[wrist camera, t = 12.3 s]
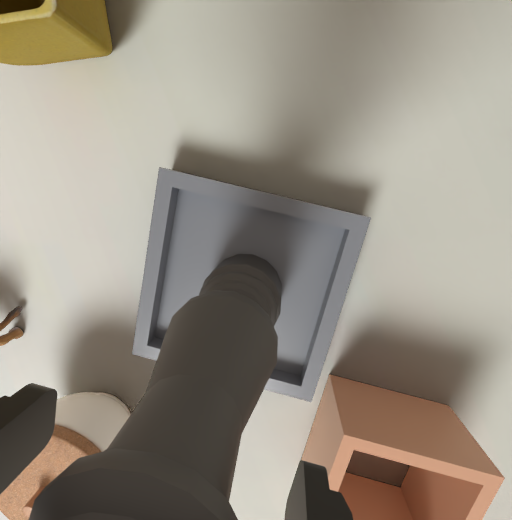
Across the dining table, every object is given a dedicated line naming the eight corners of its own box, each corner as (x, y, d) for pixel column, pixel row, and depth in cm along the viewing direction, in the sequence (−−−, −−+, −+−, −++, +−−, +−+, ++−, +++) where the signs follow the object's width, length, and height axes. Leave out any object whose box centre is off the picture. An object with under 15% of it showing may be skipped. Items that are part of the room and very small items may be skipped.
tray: (362, 215, 24) (370, 217, 21) (309, 383, 28) (311, 402, 25) (171, 169, 25) (159, 167, 22) (145, 340, 28) (131, 354, 26)
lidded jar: (44, 433, 32) (-51, 528, 23) (72, 354, 29) (-24, 426, 20) (134, 475, 32) (74, 587, 23) (169, 400, 30) (117, 493, 20)
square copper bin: (448, 405, 27) (504, 478, 20) (406, 497, 29) (443, 590, 23) (329, 374, 27) (343, 434, 20) (298, 467, 30) (302, 548, 23)
